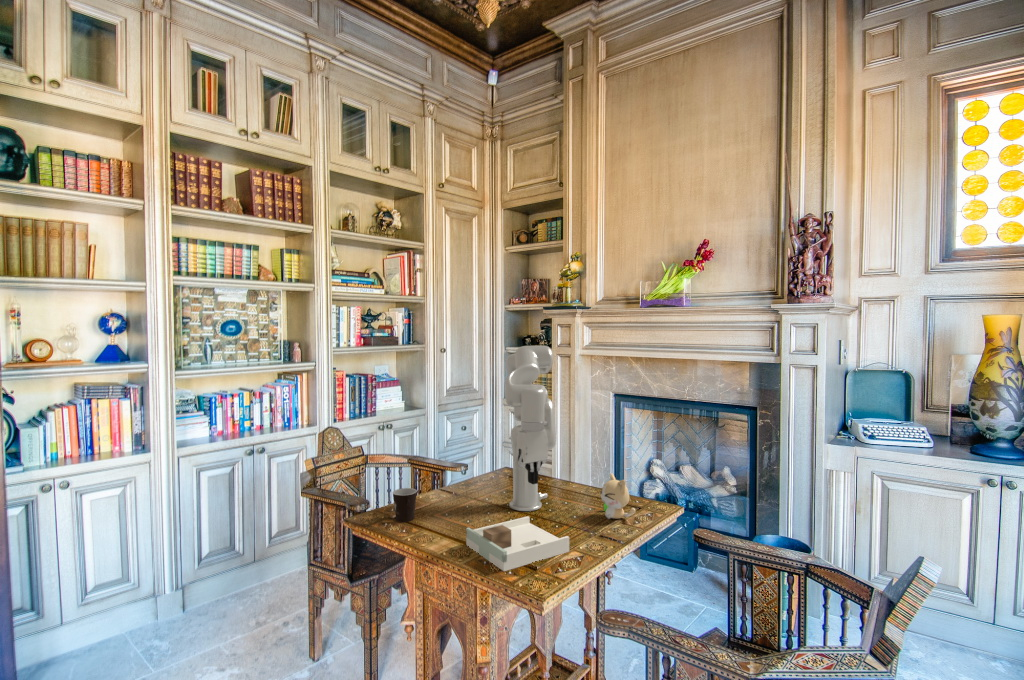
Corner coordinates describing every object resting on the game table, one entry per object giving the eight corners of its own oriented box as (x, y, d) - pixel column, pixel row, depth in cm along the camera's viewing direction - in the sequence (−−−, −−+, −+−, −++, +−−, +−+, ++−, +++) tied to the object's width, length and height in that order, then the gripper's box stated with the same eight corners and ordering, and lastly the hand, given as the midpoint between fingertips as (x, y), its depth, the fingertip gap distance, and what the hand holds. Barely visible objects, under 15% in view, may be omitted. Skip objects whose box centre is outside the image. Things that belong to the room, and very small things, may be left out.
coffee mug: (396, 514, 195) (396, 488, 195) (419, 515, 195) (419, 488, 195) (387, 526, 183) (387, 498, 183) (412, 526, 183) (412, 498, 183)
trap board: (528, 529, 180) (527, 513, 180) (569, 551, 162) (569, 533, 162) (466, 545, 167) (466, 528, 167) (503, 571, 149) (503, 552, 148)
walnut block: (502, 540, 164) (502, 525, 164) (511, 546, 160) (511, 529, 160) (483, 546, 160) (483, 529, 160) (491, 551, 156) (491, 535, 156)
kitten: (593, 511, 198) (593, 472, 197) (617, 509, 200) (617, 469, 200) (611, 525, 183) (611, 482, 183) (636, 522, 186) (636, 480, 186)
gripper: (544, 422, 176) (544, 476, 176) (506, 427, 167) (507, 484, 168) (558, 425, 169) (558, 481, 170) (520, 430, 161) (520, 490, 162)
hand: (533, 482), depth 169 cm, fingers closed
